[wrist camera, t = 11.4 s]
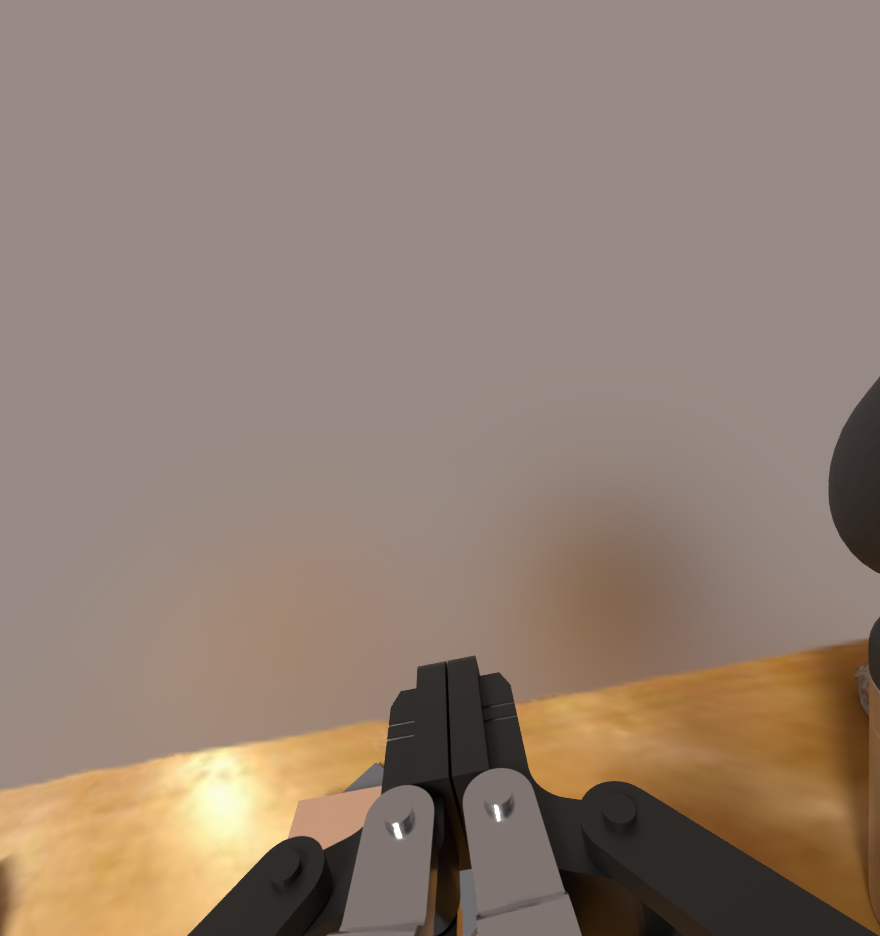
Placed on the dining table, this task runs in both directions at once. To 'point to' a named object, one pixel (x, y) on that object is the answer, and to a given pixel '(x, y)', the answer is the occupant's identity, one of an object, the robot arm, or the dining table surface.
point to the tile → (333, 815)
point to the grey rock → (863, 686)
